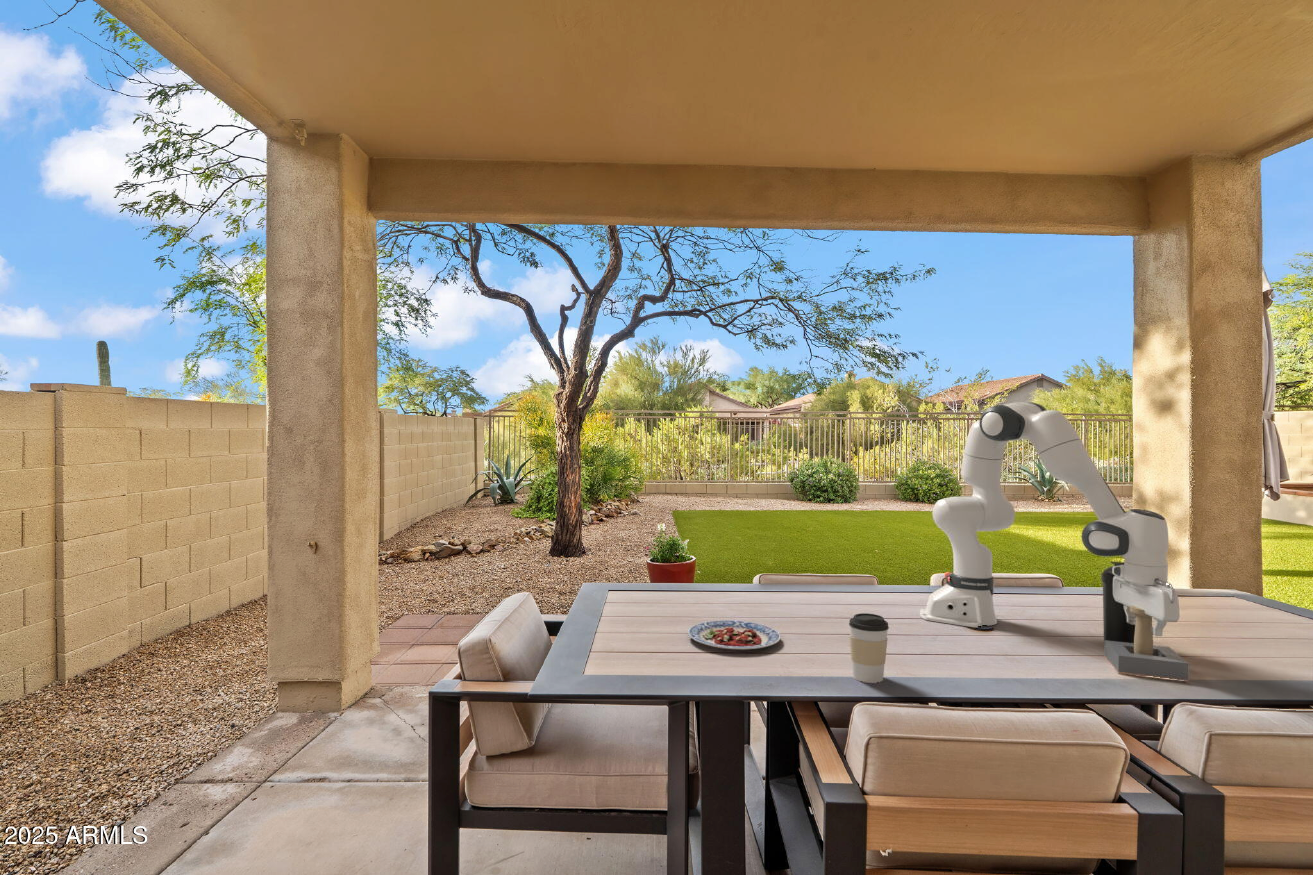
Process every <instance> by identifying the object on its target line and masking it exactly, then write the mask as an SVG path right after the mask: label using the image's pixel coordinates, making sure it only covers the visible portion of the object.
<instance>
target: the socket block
mask: <svg viewBox="0 0 1313 875" xmlns="http://www.w3.org/2000/svg"><path fill="white" fill-rule="evenodd" d="M1103 649H1104V654H1103V655H1104V659H1105V660H1106V661H1107V660H1108V661H1109V662H1108V661H1107V662H1108V664H1110V666H1111V665H1112V666H1113V667H1114V668H1113V667H1112V666H1111V667H1112V668H1113V669H1114V671H1115V672H1116V671H1117V672H1118V673H1121V674H1120V675H1125V674H1130V675H1129V676H1133V675H1138V676H1137V677H1141V676H1153V677H1160V678H1169V679H1177V680H1184V681H1188V682H1189V662H1187V661H1186V660H1185V659H1184V658H1182V657H1181V656H1180V655H1179V654H1178V653H1177V652H1175V651H1174V649H1172V648H1171V647H1169V646H1161V645H1154V644H1153V656H1151V655H1142V654H1134V643H1126V642H1117V641H1108V640H1105V645H1104V648H1103ZM1117 672H1116V673H1117ZM1118 673H1117V674H1118Z"/></svg>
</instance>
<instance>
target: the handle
mask: <svg viewBox="0 0 1313 875" xmlns="http://www.w3.org/2000/svg"><path fill="white" fill-rule="evenodd" d="M1130 612H1132V613H1133V614H1135V615H1136V624H1135V635H1134V654H1142V655H1151V656H1153V645H1154V635H1153V634H1151V627H1153V617H1151V616H1149V615H1147V614H1145V613H1144V610H1143V609H1140V608H1138V607H1135V606H1133V605H1132V606H1130Z"/></svg>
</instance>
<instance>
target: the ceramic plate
mask: <svg viewBox="0 0 1313 875" xmlns="http://www.w3.org/2000/svg"><path fill="white" fill-rule="evenodd" d="M688 636H689V637H690V638H691V639H692V640H694V641H695V642H697V643H699V644H702V645H705V646H709V647H714V648H718V649H722V650H727V651H728V650H729V651H747V650H748V651H749V650H756V649H763V648H767V647H771V646H773V645H775V644H777V643H778V642H779V641H780V640H781V636H782V635H781V634H780V633H779V631H778V630H776V629H774V628H772V627H770V626H767V625H765V624H762V623H757V622H752V621H747V620H746V621H744V620H736V619H734V620H733V619H732V620H731V619H727V620H726V619H724V620H723V619H722V620H710V621H704V622H701V623H697V624H694V625H693V626H691V627H690V628H689V629H688Z"/></svg>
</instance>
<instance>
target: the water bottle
mask: <svg viewBox="0 0 1313 875" xmlns="http://www.w3.org/2000/svg"><path fill="white" fill-rule="evenodd" d="M1110 564H1113V566H1119V565H1124V562H1121V561H1120V562H1119V561H1118V562H1117V561H1111V562H1110ZM1113 566H1109V567H1107V568H1105V569H1104V570H1103V572H1101V574H1100V575H1101V577H1100V578H1101V579H1100V580H1101V582H1102V609H1103V610H1102V611H1103V613H1102V615H1103V617H1102V620H1103V623H1102V624H1103V645H1104V646H1105V640H1108V641H1117V642H1126V643H1134V635H1135V625H1132V624H1129V623H1127V616H1126V613H1125V610H1124V604H1121V603H1119V602H1117V601H1115V599H1114V597H1113V578H1114V576H1115V575H1114V574H1113V573H1112V568H1113ZM1135 616H1136V615H1135Z"/></svg>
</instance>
